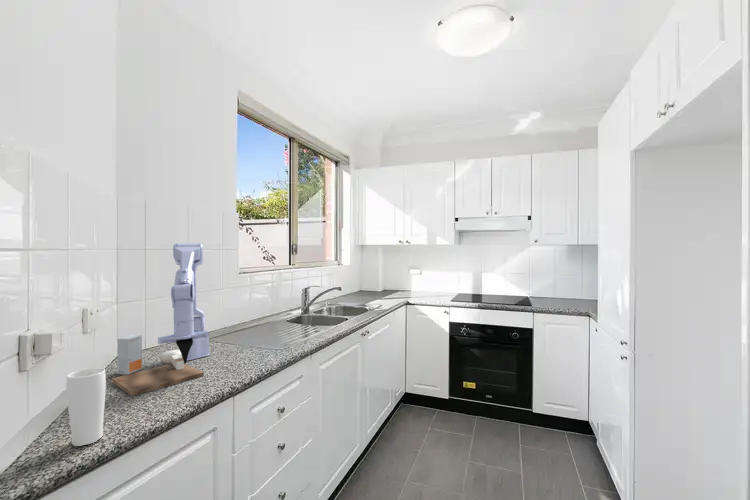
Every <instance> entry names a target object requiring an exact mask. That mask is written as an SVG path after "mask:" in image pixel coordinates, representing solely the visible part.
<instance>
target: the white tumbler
mask: <svg viewBox="0 0 750 500" xmlns="http://www.w3.org/2000/svg"><path fill="white" fill-rule="evenodd" d="M106 374H107V373H106V369H105V368H104V367H90V368H84V369H79V370H77V371H73V372H70V373H69V374H67V375H66V380H65V381H66V383H65V388H66V391H65V392H66V402H67V410H68V416H69V417H68V418H69V423H70V425H69V426H70V432H71V444H72V446H74V447H76V446H82V445H86V444H89V443H92V442H95V441H97V440H98V439H100V438H101V437H102V436H103V437H104V418H105V404H106V392H107V375H106ZM103 437H102V438H103ZM102 438H101V439H102ZM101 439H100V440H101ZM97 442H98V441H97Z"/></svg>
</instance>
